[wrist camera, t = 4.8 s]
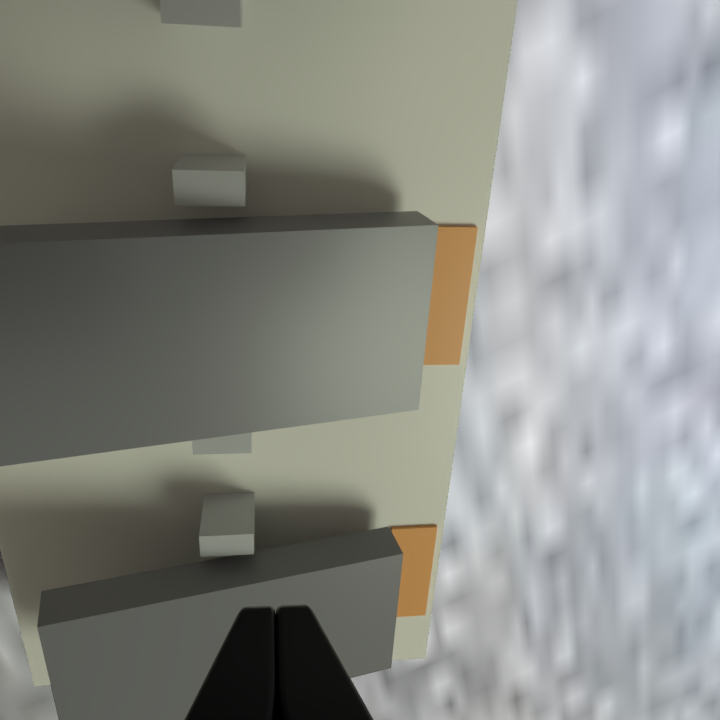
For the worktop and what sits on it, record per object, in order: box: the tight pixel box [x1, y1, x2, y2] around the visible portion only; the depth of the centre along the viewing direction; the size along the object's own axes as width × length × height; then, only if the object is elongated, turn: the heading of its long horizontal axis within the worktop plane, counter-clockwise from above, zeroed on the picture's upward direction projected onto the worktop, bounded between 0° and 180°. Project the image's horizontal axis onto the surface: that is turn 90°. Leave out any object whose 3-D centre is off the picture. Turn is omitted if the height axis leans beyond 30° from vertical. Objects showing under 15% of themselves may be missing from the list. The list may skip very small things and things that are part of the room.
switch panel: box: [0, 0, 517, 686], centre depth 15 cm, size 11×23×4 cm, turn 177°
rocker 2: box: [37, 526, 403, 720], centre depth 16 cm, size 8×4×1 cm, turn 86°
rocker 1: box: [0, 211, 438, 466], centre depth 12 cm, size 8×4×1 cm, turn 86°
